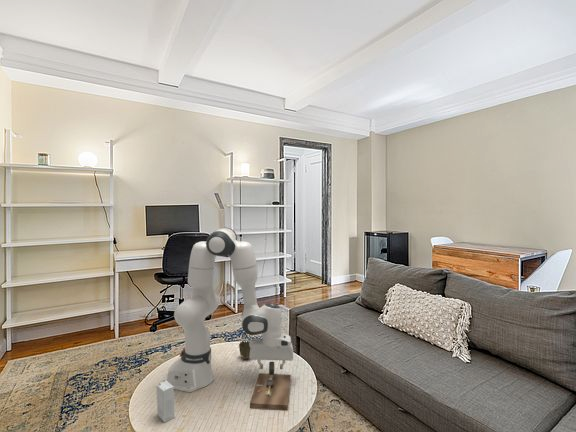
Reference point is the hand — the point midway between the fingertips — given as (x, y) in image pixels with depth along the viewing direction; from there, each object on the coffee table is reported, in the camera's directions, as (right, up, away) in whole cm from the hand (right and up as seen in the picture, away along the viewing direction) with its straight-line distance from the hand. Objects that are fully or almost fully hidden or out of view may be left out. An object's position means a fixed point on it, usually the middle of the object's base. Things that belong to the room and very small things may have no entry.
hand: (271, 368), depth 143 cm
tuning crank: (0, -4, -7) cm, 8 cm away
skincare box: (-39, -6, -25) cm, 47 cm away
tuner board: (+1, -6, -9) cm, 11 cm away
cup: (-14, -5, +20) cm, 25 cm away
